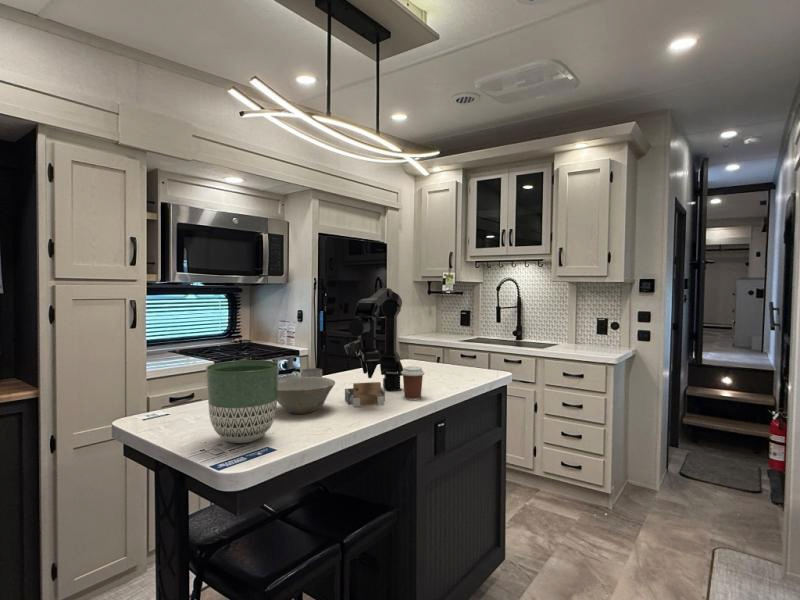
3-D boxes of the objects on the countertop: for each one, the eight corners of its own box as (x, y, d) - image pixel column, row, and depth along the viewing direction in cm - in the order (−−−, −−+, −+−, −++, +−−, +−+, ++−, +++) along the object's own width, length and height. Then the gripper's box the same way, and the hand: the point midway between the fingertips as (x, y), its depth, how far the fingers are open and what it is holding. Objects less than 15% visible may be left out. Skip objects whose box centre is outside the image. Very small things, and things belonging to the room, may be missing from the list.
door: (379, 402, 177) (379, 381, 176) (381, 404, 174) (381, 383, 174) (353, 404, 174) (353, 383, 174) (354, 406, 172) (354, 384, 171)
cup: (319, 397, 184) (319, 372, 184) (298, 397, 185) (298, 372, 184) (323, 392, 193) (323, 368, 193) (303, 392, 193) (303, 368, 193)
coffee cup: (398, 396, 187) (398, 366, 187) (419, 394, 190) (419, 365, 190) (405, 401, 178) (405, 370, 178) (427, 400, 181) (427, 369, 181)
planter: (191, 443, 130) (191, 367, 130) (247, 426, 147) (247, 358, 146) (238, 457, 120) (238, 374, 119) (293, 436, 137) (293, 363, 136)
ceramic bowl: (255, 416, 158) (255, 386, 158) (293, 400, 180) (293, 374, 180) (312, 423, 151) (312, 392, 150) (345, 405, 172) (345, 378, 172)
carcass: (380, 396, 186) (380, 386, 186) (387, 404, 174) (387, 394, 174) (344, 398, 182) (344, 388, 182) (349, 407, 170) (350, 396, 170)
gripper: (342, 331, 180) (342, 372, 181) (349, 337, 162) (349, 381, 163) (370, 331, 183) (370, 371, 184) (381, 336, 165) (381, 380, 166)
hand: (367, 375), depth 174 cm, fingers open, 9 cm apart
